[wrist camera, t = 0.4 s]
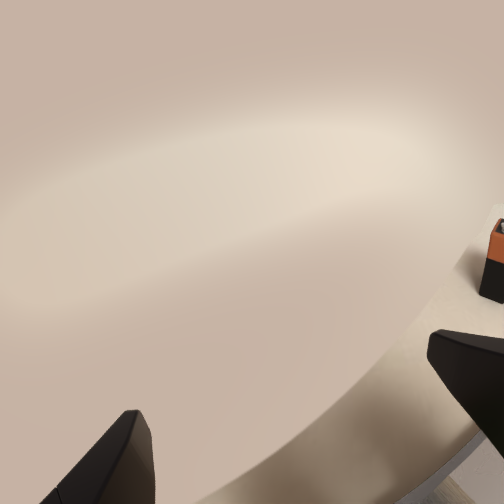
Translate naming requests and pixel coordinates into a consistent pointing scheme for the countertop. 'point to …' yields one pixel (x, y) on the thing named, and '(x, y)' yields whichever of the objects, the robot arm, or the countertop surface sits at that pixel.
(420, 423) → the countertop surface
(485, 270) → the battery
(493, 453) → the rail
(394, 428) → the countertop surface
